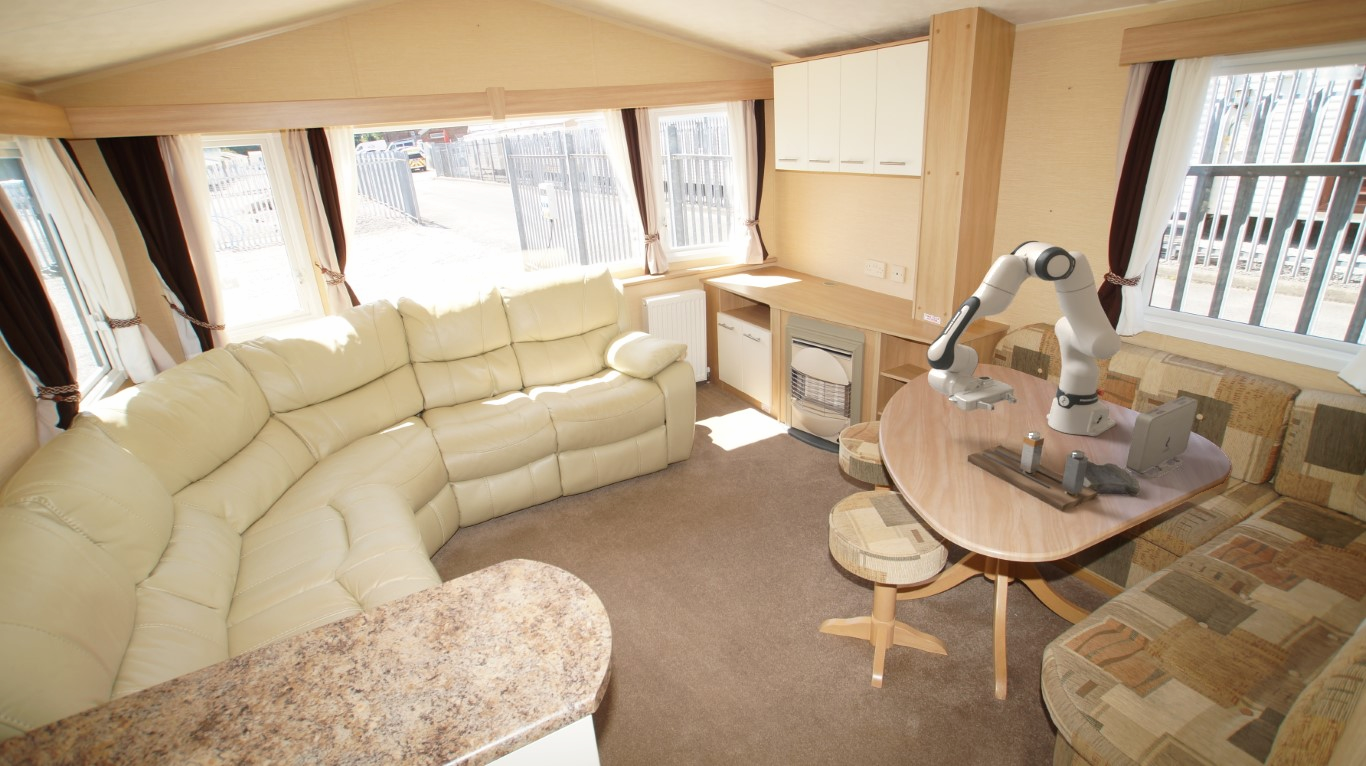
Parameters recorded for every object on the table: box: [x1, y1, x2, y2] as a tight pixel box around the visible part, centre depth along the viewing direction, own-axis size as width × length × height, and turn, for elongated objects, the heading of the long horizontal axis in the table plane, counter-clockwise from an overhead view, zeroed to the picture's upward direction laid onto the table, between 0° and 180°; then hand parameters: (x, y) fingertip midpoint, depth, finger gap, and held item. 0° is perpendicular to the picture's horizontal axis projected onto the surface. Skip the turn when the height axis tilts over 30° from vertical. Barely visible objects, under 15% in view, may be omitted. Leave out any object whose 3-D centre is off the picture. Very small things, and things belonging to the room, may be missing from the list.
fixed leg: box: [1061, 449, 1089, 495], centre depth 179 cm, size 4×4×13 cm
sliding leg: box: [1020, 430, 1045, 473], centre depth 191 cm, size 4×4×13 cm
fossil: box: [1083, 460, 1141, 497], centre depth 189 cm, size 15×16×4 cm
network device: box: [1125, 395, 1199, 479], centre depth 193 cm, size 26×9×20 cm, turn 117°
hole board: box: [967, 444, 1099, 512], centre depth 194 cm, size 14×34×3 cm, turn 23°
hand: (1004, 404), depth 197 cm, fingers open, 8 cm apart
